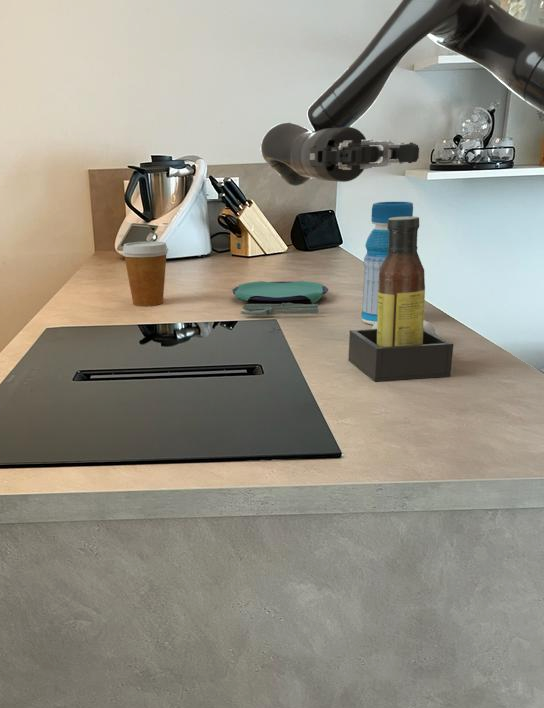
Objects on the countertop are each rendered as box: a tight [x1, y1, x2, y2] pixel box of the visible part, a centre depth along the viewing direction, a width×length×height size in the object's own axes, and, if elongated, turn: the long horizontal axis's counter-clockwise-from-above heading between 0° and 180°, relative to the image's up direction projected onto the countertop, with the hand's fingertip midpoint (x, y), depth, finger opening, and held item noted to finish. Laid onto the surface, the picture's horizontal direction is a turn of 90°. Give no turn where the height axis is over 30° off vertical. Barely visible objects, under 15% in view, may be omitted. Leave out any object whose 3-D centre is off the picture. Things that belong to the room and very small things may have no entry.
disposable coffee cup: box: [121, 240, 169, 307], centre depth 162 cm, size 10×10×12 cm
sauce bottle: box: [377, 216, 426, 347], centre depth 107 cm, size 7×6×20 cm
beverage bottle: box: [361, 201, 414, 326], centre depth 136 cm, size 8×8×20 cm
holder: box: [347, 328, 454, 383], centre depth 110 cm, size 11×12×4 cm
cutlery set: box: [232, 280, 329, 316], centre depth 159 cm, size 20×30×2 cm, turn 171°
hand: (387, 154), depth 106 cm, fingers open, 8 cm apart
